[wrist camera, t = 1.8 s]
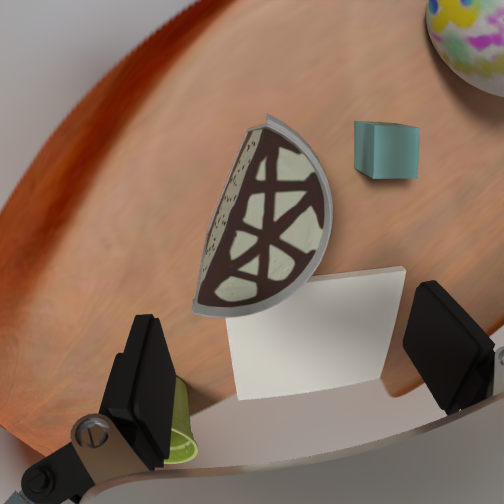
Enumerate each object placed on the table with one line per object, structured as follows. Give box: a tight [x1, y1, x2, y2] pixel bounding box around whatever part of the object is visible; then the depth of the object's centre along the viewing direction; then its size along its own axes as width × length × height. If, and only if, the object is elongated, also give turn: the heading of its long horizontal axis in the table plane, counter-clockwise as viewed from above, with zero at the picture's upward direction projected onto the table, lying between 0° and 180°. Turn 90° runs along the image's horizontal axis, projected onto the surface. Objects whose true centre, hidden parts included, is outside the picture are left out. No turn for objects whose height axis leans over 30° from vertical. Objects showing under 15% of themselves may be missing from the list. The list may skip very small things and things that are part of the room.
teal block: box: [354, 121, 420, 179], centre depth 23 cm, size 4×4×4 cm
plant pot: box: [164, 377, 198, 464], centre depth 31 cm, size 9×9×9 cm
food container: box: [192, 114, 333, 318], centre depth 21 cm, size 12×6×10 cm, turn 158°
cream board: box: [226, 266, 406, 400], centre depth 33 cm, size 18×16×1 cm
